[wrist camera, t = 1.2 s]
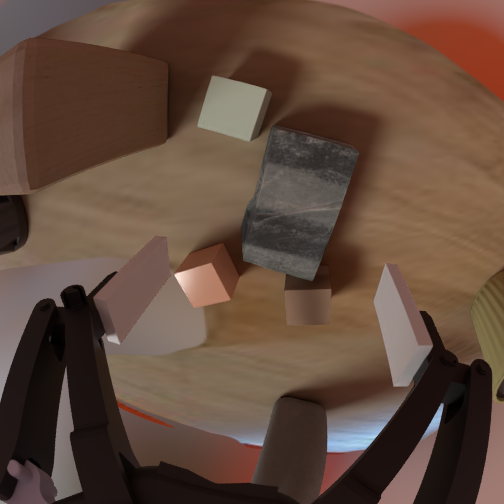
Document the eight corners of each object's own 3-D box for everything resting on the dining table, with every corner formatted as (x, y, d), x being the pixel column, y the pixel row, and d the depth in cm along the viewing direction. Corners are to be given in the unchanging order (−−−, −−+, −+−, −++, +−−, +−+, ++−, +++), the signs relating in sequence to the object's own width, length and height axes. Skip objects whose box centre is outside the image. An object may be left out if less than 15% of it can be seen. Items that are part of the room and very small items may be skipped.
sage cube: (213, 124, 28) (197, 126, 23) (226, 81, 25) (212, 75, 21) (257, 137, 28) (249, 141, 23) (272, 93, 25) (267, 89, 21)
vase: (296, 425, 52) (278, 550, 26) (253, 404, 50) (220, 543, 23) (341, 406, 46) (336, 550, 20) (298, 382, 44) (277, 551, 18)
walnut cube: (289, 299, 36) (287, 325, 32) (287, 266, 34) (284, 290, 30) (327, 298, 35) (329, 324, 31) (328, 265, 33) (331, 288, 29)
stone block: (239, 240, 34) (229, 261, 29) (268, 120, 27) (260, 120, 22) (311, 260, 33) (312, 285, 29) (351, 144, 26) (360, 150, 22)
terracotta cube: (206, 285, 37) (194, 308, 33) (189, 253, 36) (173, 274, 31) (239, 276, 36) (230, 299, 32) (223, 242, 34) (211, 262, 30)
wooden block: (102, 74, 26) (-36, 82, 8) (172, 60, 24) (27, 31, 7) (103, 148, 30) (-29, 201, 13) (171, 144, 29) (30, 199, 12)
